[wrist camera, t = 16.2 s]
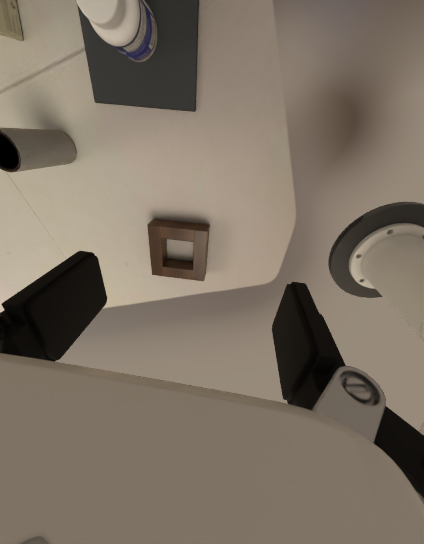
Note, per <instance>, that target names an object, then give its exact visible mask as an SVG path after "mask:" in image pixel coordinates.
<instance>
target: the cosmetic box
mask: <svg viewBox="0 0 424 544" xmlns="http://www.w3.org/2000/svg"><path fill="white" fill-rule="evenodd" d="M0 35H3V36H6V37H10V38H13V39H17V40H20V41H23V37H22V31H21V25H20V19H19V14H18V9H17V3H16V0H0Z"/></svg>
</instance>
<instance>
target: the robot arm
mask: <svg viewBox="0 0 424 544" xmlns="http://www.w3.org/2000/svg"><path fill="white" fill-rule="evenodd" d="M349 272H350V274H351V276H352V277H353V278H354V280H355V281H356V282H357V283H359V284H360V285H362V286H364V287H368V288H373V289H376V290H377V291H378V292H379V293H380V294H381V295H382V296H383V297H384V299H386V301H387V302H388V303H389V304H390V305H391V306H392V307H393V308H394V309H395V310H396V311H397V313H398V314H399V315H400V316H401V317H402V318H403V319H404V320H405V321H406V323H407V324H408V325H409V326H410V327H411V328H412V329H413V330H414V331H415V332H416V333H417V334H418V336H420V338H421V339H422V340H423V341H424V228H423V227H421V226H419V225H416V224H412V223H397V224H392V225H388V226H385V227H382V228H380V229H378V230H376V231H374V232H372V233H371V234H369V235H368V236H366V237H365V238H364V239H363V240H362V241H361V242H360V243H359V244H358V245H357V246H356V247H355V249H354V250H353V252H352V254H351V256H350V259H349ZM106 302H107V296H106V291H105V287H104V283H103V278H102V274H101V270H100V266H99V261H98V258H97V256H95V255H94V253H92V252H85V251H79V252H77V253H75V254H74V255H72V256H71V257H69V258H68V259H67V260H65V261H64V262H62V263H61V264H59V265H58V266H56V267H55V268H53V269H52V270H50V271H49V272H47V273H46V274H45V275H43V276H42V277H40V278H39V279H37V280H36V281H34V282H33V283H31V284H30V285H28V286H27V287H25V288H24V289H23V290H21V291H20V292H18V293H17V294H15V295H14V296H12V297H11V298H9V299H8V300H6V301H5V302H3V303H2V306H3V308H4V309H5V310H4V311H3V312H1V313H0V544H424V423H423V424H422V426H421V427H420V429H419V432H418V431H417V430H416V429H415V428H413V427H412V426H411V425H409V424H408V423H407V422H406V421H404V420H403V419H402V418H400V417H399V416H398V415H397V414H395V413H394V412H393V411H391V410H390V409H389V408H388V407H386V406H385V405H386V398H385V395H384V392H383V391H382V389H381V388H380V386H379V385H378V384H377V383H376V382H375V380H374V379H373V378H371V377H370V376H369V375H368V374H366V373H365V372H363V371H361V370H359V369H357V368H354V367H350V366H346V365H345V363H344V361H343V359H342V357H341V355H340V353H339V350H338V348H337V346H336V344H335V342H334V339H333V337H332V335H331V333H330V331H329V329H328V326H327V324H326V322H325V320H324V318H323V316H322V315H321V314H319V312H318V310H317V308H316V305H315V303H314V301H313V299H312V297H311V294H310V292H309V290H308V288H307V285H306V284H304V283H298V282H292V283H291V284H287V286H286V289H285V291H284V295H283V297H282V300H281V302H280V305H279V308H278V311H277V314H276V317H275V319H274V322H273V325H272V332H273V339H274V345H275V351H276V358H277V364H278V371H279V377H280V383H281V389H282V395H283V399H284V400H287V402H288V404H286V403H281V402H276V401H272V400H266V399H261V398H257V397H251V396H246V395H241V394H236V393H230V392H225V391H219V390H214V389H208V388H203V387H197V386H192V385H186V384H181V383H175V382H169V381H164V380H158V379H152V378H147V377H141V376H135V375H129V374H124V373H118V372H112V371H106V370H100V369H95V368H89V367H83V366H77V365H71V364H65V363H59V362H55V361H56V360H59V359H60V358H61V357H62V356H63V355H64V354H65V352H66V351H67V350H68V349H69V348H70V346H71V345H72V344H73V343H74V342H75V340H76V339H77V338H78V337H79V336H80V334H81V333H82V332H83V331H84V330H85V328H86V327H87V326H88V325H89V324H90V322H91V321H92V320H93V319H94V318H95V316H96V315H97V314H98V313H99V311H100V310H101V309H102V308H103V307H104V305H105V304H106Z"/></svg>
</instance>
